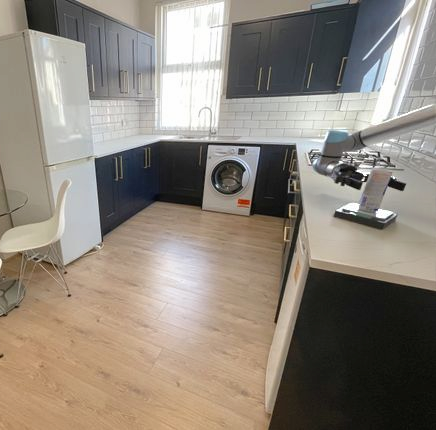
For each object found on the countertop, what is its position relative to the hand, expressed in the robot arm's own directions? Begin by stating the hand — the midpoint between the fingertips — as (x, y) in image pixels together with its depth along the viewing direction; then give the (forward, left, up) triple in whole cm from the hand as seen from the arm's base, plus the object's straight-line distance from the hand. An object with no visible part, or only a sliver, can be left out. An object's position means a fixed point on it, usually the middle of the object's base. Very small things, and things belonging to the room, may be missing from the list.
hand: (382, 186), depth 95 cm
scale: (+2, -1, -13) cm, 13 cm away
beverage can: (+2, -2, -10) cm, 10 cm away
